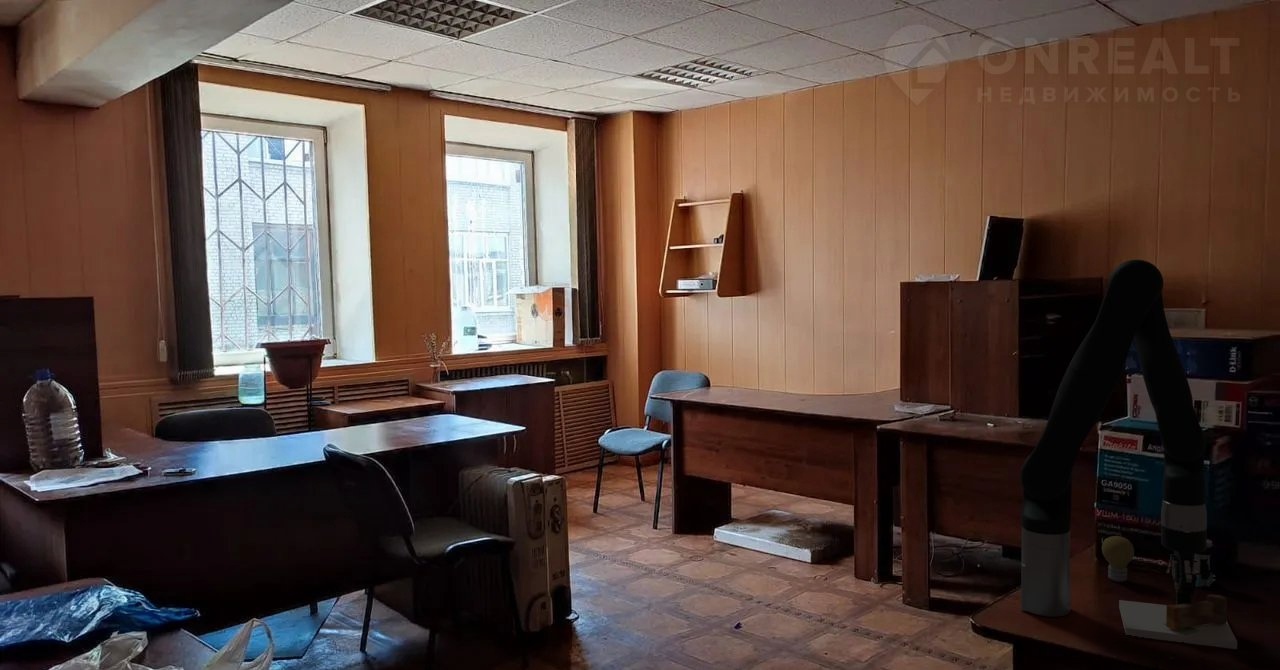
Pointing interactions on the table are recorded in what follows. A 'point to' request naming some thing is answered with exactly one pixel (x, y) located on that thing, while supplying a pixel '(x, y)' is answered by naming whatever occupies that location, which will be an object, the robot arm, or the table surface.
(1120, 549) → the light bulb
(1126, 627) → the plate
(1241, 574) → the table surface
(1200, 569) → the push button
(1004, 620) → the table surface
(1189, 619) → the peg lever
